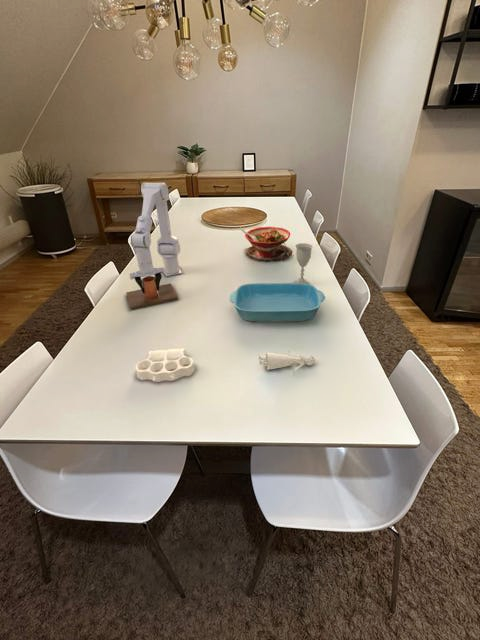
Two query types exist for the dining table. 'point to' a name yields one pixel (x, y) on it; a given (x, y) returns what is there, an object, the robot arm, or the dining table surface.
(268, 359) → the woman figurine
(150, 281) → the tumbler
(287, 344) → the dining table surface
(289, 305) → the casserole dish
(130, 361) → the dining table surface
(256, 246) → the stew
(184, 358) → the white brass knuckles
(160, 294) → the serving board
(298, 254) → the chalice
